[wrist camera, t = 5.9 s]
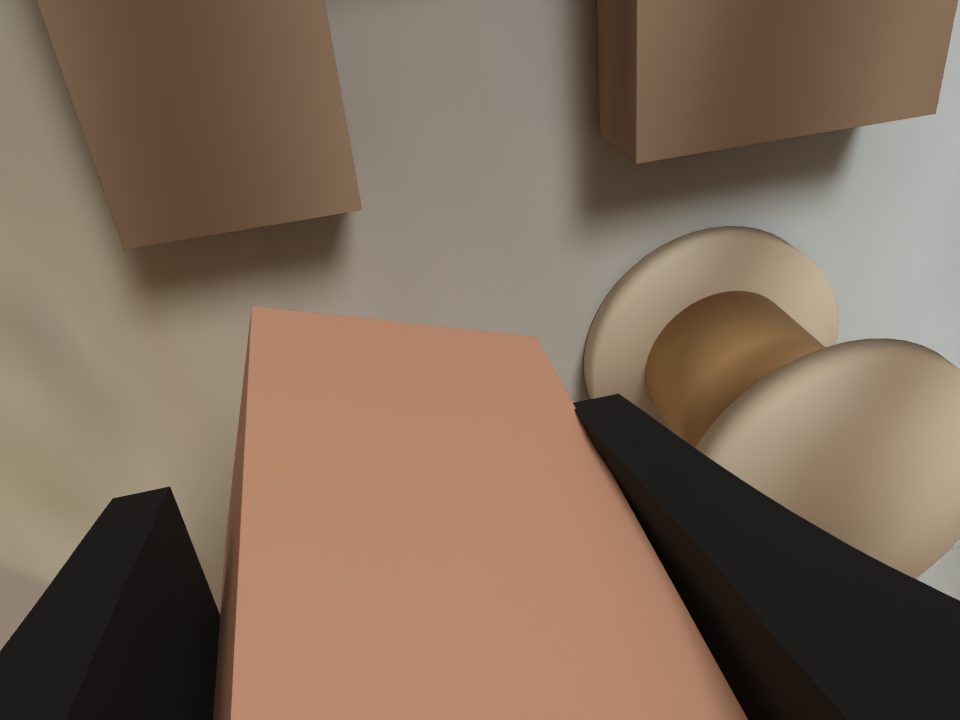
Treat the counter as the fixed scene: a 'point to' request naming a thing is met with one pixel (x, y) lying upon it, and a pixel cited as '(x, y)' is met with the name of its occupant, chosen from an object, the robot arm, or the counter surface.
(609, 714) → the salmon pink cuboid
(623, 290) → the bobbin
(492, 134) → the counter surface
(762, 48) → the notched board
